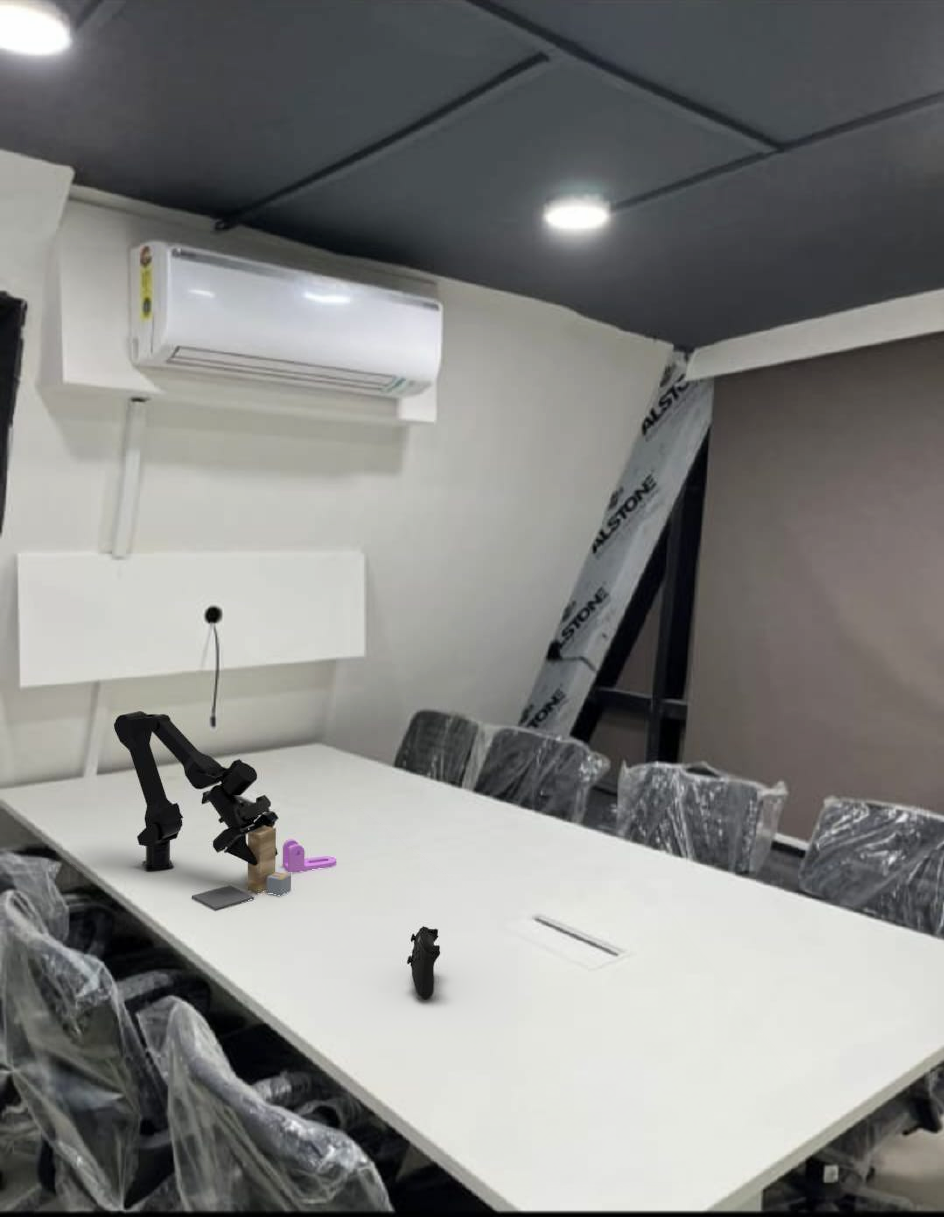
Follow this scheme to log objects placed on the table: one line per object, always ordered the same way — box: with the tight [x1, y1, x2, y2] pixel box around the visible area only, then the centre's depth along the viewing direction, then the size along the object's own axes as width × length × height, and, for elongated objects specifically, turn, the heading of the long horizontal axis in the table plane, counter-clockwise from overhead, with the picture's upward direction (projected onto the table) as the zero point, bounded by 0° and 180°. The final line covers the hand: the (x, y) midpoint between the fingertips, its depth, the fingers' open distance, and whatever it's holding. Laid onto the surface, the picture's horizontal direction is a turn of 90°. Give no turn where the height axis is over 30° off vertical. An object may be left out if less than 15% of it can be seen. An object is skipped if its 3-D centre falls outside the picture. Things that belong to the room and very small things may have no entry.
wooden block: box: [246, 826, 277, 894], centre depth 233 cm, size 4×6×14 cm, turn 155°
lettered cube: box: [265, 871, 292, 897], centre depth 232 cm, size 4×4×4 cm
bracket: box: [282, 838, 337, 874], centre depth 250 cm, size 13×6×7 cm, turn 119°
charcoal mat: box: [191, 884, 255, 911], centre depth 227 cm, size 10×10×1 cm
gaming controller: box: [406, 925, 441, 1000], centre depth 187 cm, size 14×6×10 cm, turn 5°
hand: (266, 859), depth 233 cm, fingers open, 7 cm apart
